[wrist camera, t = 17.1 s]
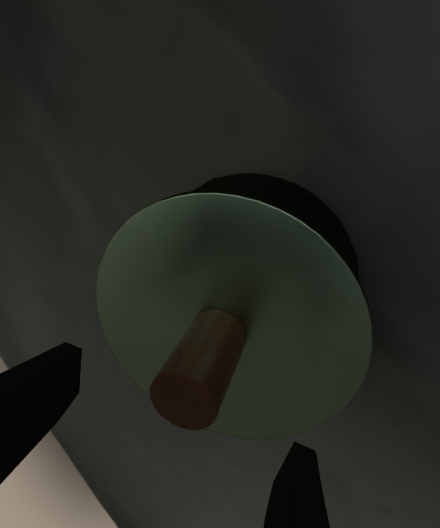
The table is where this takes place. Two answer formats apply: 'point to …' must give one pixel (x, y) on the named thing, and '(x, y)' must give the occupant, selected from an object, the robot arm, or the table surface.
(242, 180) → the bowl
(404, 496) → the table surface
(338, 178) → the table surface
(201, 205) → the lid
